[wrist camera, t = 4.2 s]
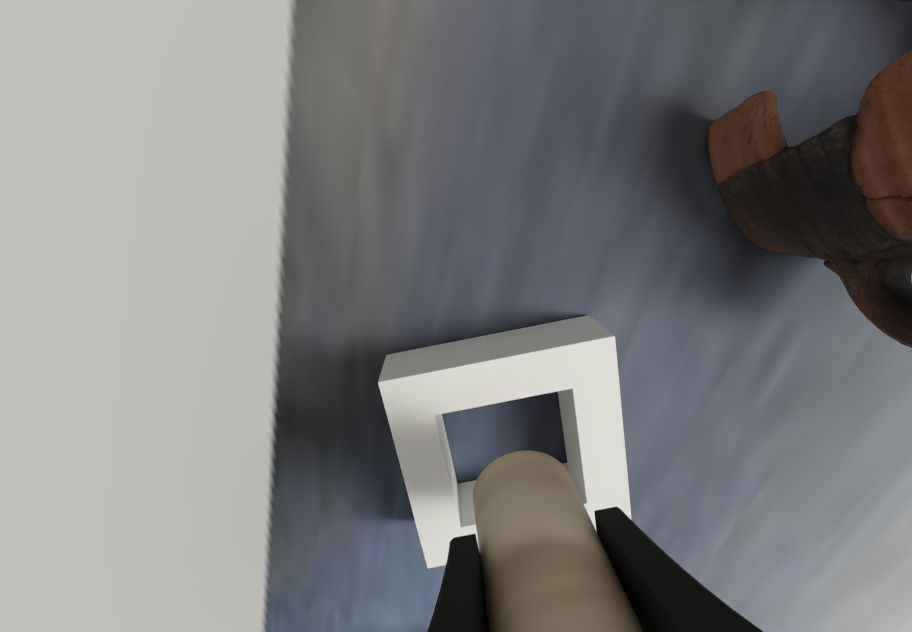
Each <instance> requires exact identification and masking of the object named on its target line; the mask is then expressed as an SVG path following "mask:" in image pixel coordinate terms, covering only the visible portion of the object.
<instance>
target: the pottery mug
mask: <svg viewBox="0 0 912 632" xmlns="http://www.w3.org/2000/svg"><path fill="white" fill-rule="evenodd" d="M898 1H901V2H910V1H912V0H898ZM708 132H709V140H708V149H709V154H710V163H711V167H712V169H713V172H714V177H715V180H716V182H717V184H718V191H719V193H720V196H721V198H722V200H723V202H724V204H725V206H726V211H727V214H728V216H729V217H730V218H731V219H732V220H733V221H734V223H735V224H736V226H737V228H738V230H739V231H740V232H741V233H742V234H743V235H744V236H745V238H747V239H748V240H749V241H751V242H753V243H755V244H756V245H758V246H759V247H761V248H764V249H766V250H769V251H771V252H784V253H789V254H795V255H800V256H805V257H817V258H820V259H822V260H826V261H825V262H824V265H825V266H826V267H827V268H829V269H830V270H832V271H833V272H835V273H836V274H837V275H838V276H839V277H840V279H841V280H842V282H843V284H844V286H845V288H846V290H847V292H848V294H849V295H850V297H851V299H852V300H853V302H854V303H855V304H856V306H857V307H858V308H859V310H860V311H861V312H862V313H863V314H864V315H865V316H866V318H868V319H869V320H870V321H871V322H872V323H873V324H874V325H875V326H876V327H877V328H878V329H880V330H881V331H882V332H884V333H885V334H887V335H888V336H889V337H891V338H893V339H895V340H896V341H898V342H899V343H901V344H903V345H906V346H909V347H911V348H912V283H911V274H912V50H911V51H908V52H906V53H905V54H903V55H902V56H901V57H900V58H899V59H898V60H897V61H895V62H894V63H892V64H890V65H889V66H887V67H886V68H885V69H883V70H882V71H881V72H880V73H879V74H878V75H877V76H876V77H875V78H874V79H873V80H872V81H871V82H870V84H869V85H868V87H867V88H866V91H865V94H864V96H863V98H862V100H861V102H860V108H859V111H858V113H857V114H856V115H854V116H849V117H846V118H844V119H842V120H840V121H838V122H836V123H835V124H833V125H832V126H831V127H829V128H827V129H826V130H824V131H822V132H821V133H819V134H817V135H815V136H813V137H811V138H809V139H807V140H806V141H804V142H802V143H801V144H799V145H796V146H794V147H787V143H786V140H785V138H784V136H783V134H782V133H781V124H780V122H779V115H778V111H777V97H776V95H775V94H774V93H773V92H769V91H763V92H759V93H757V94H755V95H753V96H751V97H749V98H748V99H746V100H745V101H744V102H743V103H742V104H741V105H740V106H738V107H737V108H735V109H733V110H731V111H729V112H728V113H726V114H725V115H723V116H722V117H720V118H719V119H717V120H715V121H714V122H712V123H711V125H710V127H709V131H708Z"/></svg>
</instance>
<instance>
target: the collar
mask: <svg viewBox="0 0 912 632" xmlns="http://www.w3.org/2000/svg"><path fill="white" fill-rule="evenodd" d="M378 385H379V388H380V392H381V396H382V400H383V403H384V407H385V411H386V414H387V418H388V422H389V426H390V429H391V433H392V437H393V441H394V444H395V448H396V452H397V455H398V459H399V463H400V467H401V470H402V474H403V478H404V482H405V485H406V489H407V493H408V496H409V500H410V504H411V508H412V511H413V515H414V519H415V523H416V526H417V530H418V534H419V538H420V541H421V545H422V549H423V552H424V556H425V560H426V564H427V567H428V568H433V567H438V566H443V565H446V563H447V558H448V552H449V545H450V541H451V540H452V539H453V538H455V537H460V536H466V535H471V534H476V539H477V543H478V537H477V529H476V520H475V512H474V504H473V490H474V486H475V483H476V481H477V480H474V481H469V482H464V483H457V479H456V474H455V470H454V465H453V461H452V457H451V452H450V448H449V443H448V439H447V434H446V430H445V426H444V421H443V417H442V414H444V413H449V412H454V411H459V410H465V409H470V408H475V407H480V406H485V405H490V404H495V403H501V402H506V401H511V400H516V399H521V398H526V397H531V396H537V395H542V394H547V393H552V392H557V391H558V398H559V405H560V412H561V420H562V427H563V434H564V442H565V449H566V456H567V463H562V464H563V465H564V467H565V468H566V469H567V471H568V472H569V474H570V476H571V478H572V481H573V483H574V485H575V487H576V489H577V491H578V493H579V496H580V498H581V500H582V502H583V504H584V506H585V508H586V510H587V513H588V515H589V517H590V519H591V521H592V523H593V525H594V527H595V530H596V522H595V514H594V511H596V510H601V509H606V508H611V507H618V508H620V509H621V510H622V511H623V512H624V513H625V514H626V515H627V516H628V517H629V518H630V519H631V509H630V498H629V487H628V476H627V465H626V454H625V443H624V431H623V420H622V409H621V398H620V387H619V376H618V365H617V354H616V343H615V336H614V335H613V334H612V333H611V332H609V331H608V330H607V329H606V328H604V327H603V326H602V325H601V324H600V323H598V322H597V321H596V320H595V319H593V318H592V317H591V316H590V315H586V316H581V317H576V318H571V319H566V320H561V321H556V322H551V323H546V324H541V325H536V326H530V327H525V328H520V329H515V330H510V331H505V332H500V333H495V334H490V335H485V336H480V337H474V338H469V339H464V340H459V341H454V342H449V343H444V344H439V345H434V346H429V347H424V348H418V349H413V350H408V351H403V352H398V353H393V354H388V355H386V358H385V361H384V364H383V367H382V371H381V374H380V377H379V380H378ZM596 532H597V530H596ZM478 548H479V545H478Z"/></svg>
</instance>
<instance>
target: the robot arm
mask: <svg viewBox="0 0 912 632" xmlns="http://www.w3.org/2000/svg"><path fill="white" fill-rule="evenodd" d="M594 514H595V522H596V530H597V534H598V536H599V538H600V540H601V542H602V544H603V547H604V549H605V551H606V553H607V555H608V557H609V559H610V562H611V564H612V566H613V568H614V570H615V572H616V574H617V576H618V579H619V581H620V583H621V585H622V587H623V589H624V591H625V593H626V596H627V598H628V600H629V602H630V604H631V606H632V608H633V611H634V613H635V615H636V617H637V619H638V621H639V623H640V625H641V628H642V630H643V632H763V631H762V630H760V629H759V628H757V627H756V626H755V625H753V624H752V623H751V622H749V621H748V620H746V619H745V618H744V617H742V616H741V615H740V614H738V613H737V612H736V611H734V610H733V609H732V608H730V607H729V606H728V605H727V604H725V603H724V602H723V601H721V600H720V599H719V598H718V597H716V596H715V595H714V594H713V593H712V592H710V591H709V590H708V589H707V588H705V587H704V586H703V585H702V584H700V583H699V582H698V581H697V580H696V579H695V578H693V577H692V576H691V575H690V574H689V573H687V572H686V571H685V570H684V569H683V568H682V567H681V566H680V565H678V564H677V563H676V562H675V561H674V560H673V559H672V558H671V557H669V556H668V555H667V554H666V553H665V552H664V551H663V550H662V549H661V548H660V547H658V546H657V545H656V544H655V543H654V542H653V541H652V540H651V539H650V538H649V537H648V536H647V535H646V534H645V533H644V532H643V531H642V530H641V529H640V528H639V527H638V526H637V525H636V524H635V523H634V522H633V521H632V520H631V519H630V518H629V517H628V516H627V515H626V514H625V513H624V512H623V511H622V510H621V509H620V508H618V507H611V508H606V509H601V510H596V511H594ZM428 632H489V628H488V620H487V612H486V603H485V592H484V583H483V575H482V567H481V559H480V553H479V548H478V543H477V539H476V534H471V535H466V536H460V537H455V538H453V539H452V540H451V541H450V545H449V552H448V558H447V563H446V568H445V573H444V577H443V581H442V585H441V589H440V592H439V596H438V599H437V603H436V606H435V610H434V613H433V617H432V620H431V623H430V626H429V629H428Z"/></svg>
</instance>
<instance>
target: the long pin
mask: <svg viewBox="0 0 912 632" xmlns="http://www.w3.org/2000/svg"><path fill="white" fill-rule="evenodd" d="M473 504H474V512H475V520H476V529H477V537H478V545H479V553H480V559H481V567H482V575H483V583H484V592H485V603H486V612H487V620H488V628H489V632H643V630H642V628H641V625H640V623H639V621H638V619H637V617H636V615H635V613H634V611H633V608H632V606H631V604H630V602H629V600H628V598H627V596H626V593H625V591H624V589H623V587H622V585H621V583H620V581H619V579H618V576H617V574H616V572H615V570H614V568H613V566H612V564H611V562H610V559H609V557H608V555H607V553H606V551H605V549H604V547H603V544H602V542H601V540H600V538H599V536H598V534H597V532H596V530H595V527H594V525H593V523H592V521H591V519H590V517H589V515H588V513H587V510H586V508H585V506H584V504H583V502H582V500H581V498H580V496H579V493H578V491H577V489H576V487H575V485H574V483H573V481H572V478H571V476H570V474H569V472H568V471H567V469H566V468H565V467H564V465H563V464H562V463H561V462H559V461H558V460H557V459H555V458H554V457H552V456H550V455H548V454H545V453H542V452H537V451H517V452H512V453H509V454H506V455H503V456H501V457H499V458H497V459H496V460H494V461H493V462H491V463H490V464H489V465H488V466H487V467H486V468H485V469H484V470H483V471H482V472H481V474H480V475H479V477H478V478H477V481H476V483H475V486H474V490H473Z"/></svg>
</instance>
